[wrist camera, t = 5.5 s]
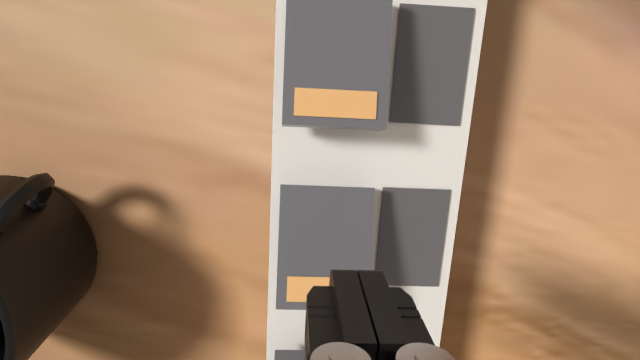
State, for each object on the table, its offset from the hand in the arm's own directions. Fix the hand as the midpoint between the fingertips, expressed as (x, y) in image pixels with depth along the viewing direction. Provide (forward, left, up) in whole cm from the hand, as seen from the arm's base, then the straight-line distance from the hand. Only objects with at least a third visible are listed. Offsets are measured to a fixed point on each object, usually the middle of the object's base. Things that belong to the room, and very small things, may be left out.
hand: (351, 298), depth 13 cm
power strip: (+2, +2, -15) cm, 15 cm away
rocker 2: (+2, 0, -9) cm, 10 cm away
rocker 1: (-7, 0, -9) cm, 12 cm away
